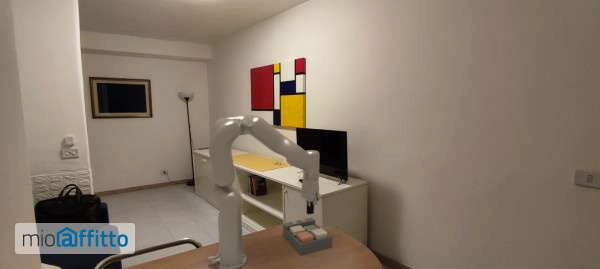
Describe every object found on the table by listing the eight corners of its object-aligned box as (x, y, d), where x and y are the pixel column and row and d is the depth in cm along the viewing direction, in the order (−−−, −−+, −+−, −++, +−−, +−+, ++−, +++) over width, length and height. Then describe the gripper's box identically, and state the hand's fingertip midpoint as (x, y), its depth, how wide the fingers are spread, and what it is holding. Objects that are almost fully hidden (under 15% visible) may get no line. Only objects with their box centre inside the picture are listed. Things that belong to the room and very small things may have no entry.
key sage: (308, 235, 136) (308, 231, 135) (303, 230, 141) (303, 226, 140) (319, 232, 138) (319, 228, 138) (313, 228, 143) (313, 224, 143)
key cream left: (294, 236, 132) (294, 232, 132) (289, 231, 137) (289, 227, 137) (305, 233, 135) (305, 229, 134) (300, 228, 140) (300, 225, 139)
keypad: (300, 255, 124) (300, 239, 123) (283, 237, 141) (283, 223, 140) (331, 247, 131) (331, 231, 130) (311, 230, 148) (311, 217, 147)
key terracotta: (302, 243, 126) (302, 238, 125) (296, 237, 130) (296, 233, 130) (313, 240, 128) (313, 236, 128) (307, 235, 133) (307, 231, 133)
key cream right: (316, 239, 129) (316, 235, 129) (310, 234, 134) (310, 230, 134) (327, 236, 131) (327, 232, 131) (321, 231, 136) (321, 227, 136)
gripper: (297, 173, 141) (296, 209, 143) (311, 180, 128) (310, 220, 130) (310, 172, 145) (309, 207, 146) (326, 179, 131) (324, 217, 133)
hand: (310, 213), depth 138 cm, fingers closed
